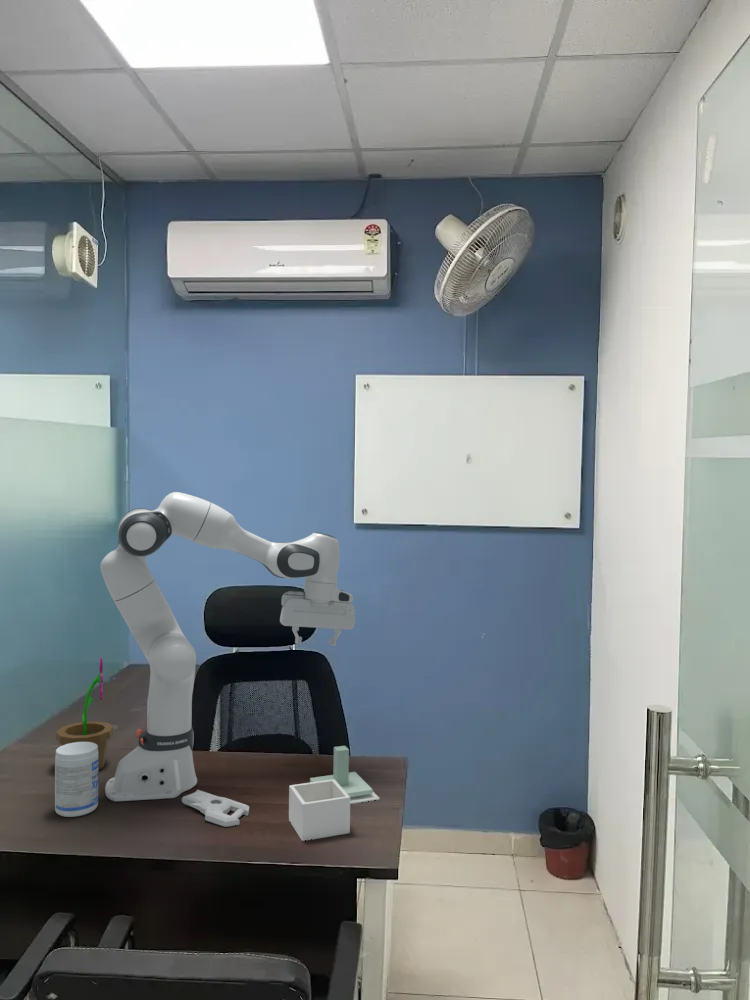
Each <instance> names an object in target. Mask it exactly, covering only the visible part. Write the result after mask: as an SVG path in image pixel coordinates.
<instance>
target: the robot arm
mask: <svg viewBox="0 0 750 1000" xmlns="http://www.w3.org/2000/svg"><path fill="white" fill-rule="evenodd" d="M117 535H118V546H117V547H116V548H115V549H114V550H111V551H110V552H108V553H107V554H106V555H105V556H104V558H102V560H101V562H100V566H99V567H100V573H101V575H102V578H103V581H104V583H105V584H104V585H105V586H106V588H107V591H108V593H109V594H110V596H111V599H112V600H113V602H114V604H115V605H116V607H117V609H118V611H119V613H120V615H121V616H122V618H123V620H124V622H125V624H126V625H127V627H128V629H129V630H130V632H131V634H132V636H133V637H134V640H135V641H136V643H137V644H138V646H139V648H140V650H141V651H142V653H143V656H145V658H146V660H147V662H148V664H149V669H150V672H149V676H150V677H149V686H148V694H147V695H148V696H147V700H146V701H147V707H146V708H147V709H146V710H147V714H146V720H147V721H146V722H147V724H146V729H145V730H143V729H142V728H139V729H137V730H136V731H135V735H136V738H137V739H138V746H136V747H135V748H134V749H133V750H131V751H130V752H129V753H128V754H127V755H125V756H124V757H123V758H122V759H120V761H119V762H118V763H117V766H116V768H115V769H116V770H115V774H114V777H111V778H109V780H107V782H106V784H105V786H104V787H105V788H104V793H105V796H106V798H107V799H109V800H110V801H113V802H131V801H143V800H144V801H145V800H147V801H148V800H161V799H163V800H164V799H175V798H177V797H179V796H180V795H181V794H182V793H185V792H186V791H189V790H191V789H192V788H194V787H195V786H196V785H197V783H198V778H197V776H196V775H197V774H196V772H195V771H196V770H195V766H194V765H195V764H194V758H193V747H194V728H193V726H192V716H193V715H192V710H193V709H192V708H193V707H192V706H193V704H192V703H193V702H192V701H193V693H194V687H195V686H194V684H195V676H196V666H197V665H196V664H197V654H196V649H195V648H194V646H193V645H192V644H191V642H190V641H189V640H188V639H187V637H186V636H185V634H184V633H183V631H182V629H181V627H180V625H179V623H178V621H177V619H176V617H175V615H174V613H173V610H172V609H171V607H170V605H169V603H168V601H167V600H166V598H165V595H164V594H163V593H162V591H161V589H160V587H159V585H158V582H157V581H156V580H155V578H154V576H153V574H152V573H151V571H150V569H149V566H148V564H147V557H148V556H149V555H153V554H154V553H156V552H157V551H158V550H159V549H160V548H161V547H162V546H163V544H165V542H166V541H167V540H168V539H169V538H171V535H173V536H179V537H181V538H184V539H186V540H189V541H190V542H193V543H196V544H198V545H201V546H204V547H206V548H212V549H216V550H217V549H218V550H226V551H227V550H229V551H233V552H236V553H238V554H240V555H243V556H246V557H248V558H250V559H253V560H254V561H257V562H258V563H259V564H261V565H263V566H264V567H265V568H266V569H267V571H268V572H269V573H270V574H272V575H273V576H274V577H276V578H280V579H292V580H293V579H300V578H304V588H303V591H294V590H293V591H292V590H287V592H284V593H283V594H282V596H281V599H280V600H281V603H280V605H281V606H282V607H281V611H280V617H279V623H280V625H283V626H284V627H291V628H292V629H291V630H292V632H293V634H294V638H295V639H294V644H296V645H301V644H302V642H303V641H302V640H303V637H302V636H299V634H298V632H299V630H300V627H301V628H314V629H315V628H317V629H331V630H332V629H333V630H334V631H333V633H335V634H334V635H333V636H332V638H329V641H328V646H331V647H333V646H334V647H336V645H337V640H338V639H339V637H340V635H341V634H342V630H347V631H348V630H353V629H354V627H355V624H356V613H355V607H354V605H353V603H352V602H353V600H354V596H353V594H351V593H349V592H346V591H345V590H342V589H339V588H338V578H337V575H338V571H339V568H340V555H341V554H340V553H341V551H340V549H341V548H340V542H339V540H338V539H337V538H336V537H335V536H333V535H331V534H327V533H322V532H312V533H311V534H310V535H308V536H306V537H304V538H300V539H299V540H298V539H297V540H295V541H293V542H292V541H291V542H286V541H271V540H268V539H266V538H262V537H260V536H258V535H256V534H254V533H252V532H250V531H248V530H246V529H244V528H243V527H242V526H241V525H240V524H239V523H238V522H237V520H236V518H235V516H234V515H233V514H232V513H230V512H229V511H228V510H227V509H224V508H222V507H221V506H219V505H217V504H215V503H214V502H210V501H209V500H206V499H204V498H201V497H198V496H194V495H191V494H188V493H185V492H179V491H173V492H170V493H169V494H167V495H165V497H164V498H163V499H162V500H161V502H160V504H159V506H158V507H157V508H156V509H154V510H151V509H148V508H146V507H145V508H144V507H137V508H134V509H131V510H130V511H128V512H126V513H125V514H124V515H123V517H122V518H121V519H120V521H119V524H118V527H117Z"/></svg>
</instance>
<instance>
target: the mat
mask: <svg viewBox="0 0 750 1000" xmlns="http://www.w3.org/2000/svg"><path fill="white" fill-rule="evenodd" d="M374 800H376V801H380V797H379V796H378V795H377V794H376V793H375V792H374V791H373V794H367V795H360V796H354V797H350V805H356V804H361V803H362V802H363V803H368V801H369V802H375V801H374Z"/></svg>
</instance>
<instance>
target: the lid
mask: <svg viewBox="0 0 750 1000" xmlns="http://www.w3.org/2000/svg"><path fill="white" fill-rule="evenodd" d="M349 766H350V749H349V748H348V747H347V746H346V745H339V746H334V747H333V766H332V767H333V768H332V770H333V771H332V772H333V774H330V775H329V774H327V775H324V776H316V777H310V778H309V783H311V782H318V781H325V780H332V779H335V780H336V782H337V783H338V784H339V785H340V786H341V787H342V788H343V790H344V791H345V792H346V793H347V794H348V795H349V796H350V797H354V796H360V795H367V794H373V792H374V790H373V788H372V787H371V786H370V785H369V784H368V783H367V782H366V781H365V780H364V779H363V778H362V777H361V776H360V775H359V774H358V773H357V772H356V771H350V769H349V768H350V767H349ZM349 771H350V772H349Z"/></svg>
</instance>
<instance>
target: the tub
mask: <svg viewBox="0 0 750 1000" xmlns="http://www.w3.org/2000/svg"><path fill="white" fill-rule="evenodd" d="M288 791H289V792H288V821H289V823H290V822H291V823H290V824H291V826H292V827H293V829H294V830H295V832H296V834H297V835H298V837H299V839H300V840H301V841H302V842H306V841H312V840H317V839H322V838H323V839H324V838H328V837H335V836H339V835H346V834H351V833H350V832H351V804H350V796H349V795H348V794H347V793H346V792H345V791H344V790H343V788H342V787H341V786H340V785H339V784H338V783H337V782H336V780H335V779H332V780H325V781H318V782H311V783H310V782H304V783H299V784H298V783H297V784H291V785H289V787H288ZM311 839H312V840H311ZM305 840H306V841H305Z"/></svg>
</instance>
